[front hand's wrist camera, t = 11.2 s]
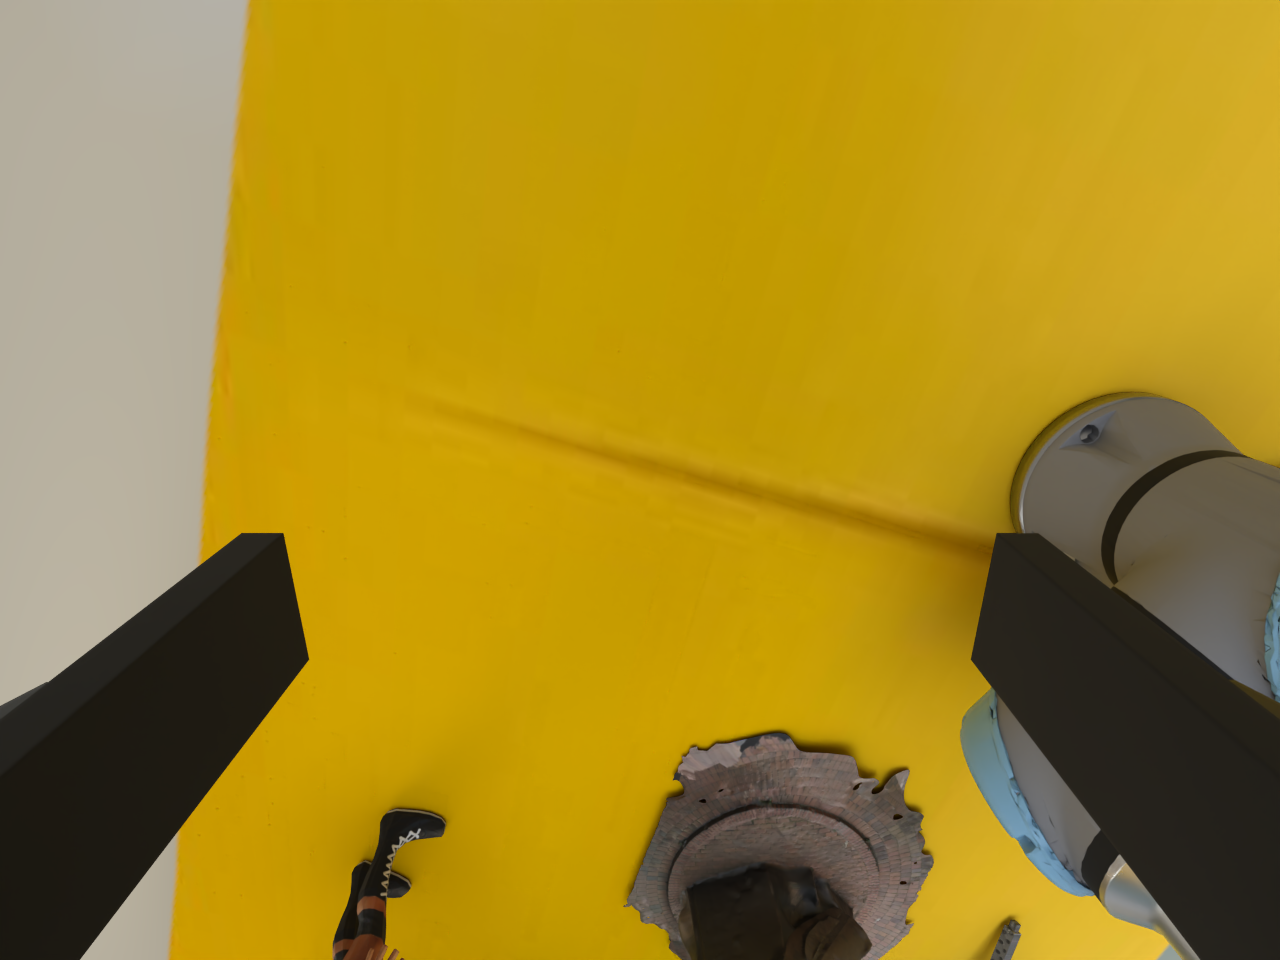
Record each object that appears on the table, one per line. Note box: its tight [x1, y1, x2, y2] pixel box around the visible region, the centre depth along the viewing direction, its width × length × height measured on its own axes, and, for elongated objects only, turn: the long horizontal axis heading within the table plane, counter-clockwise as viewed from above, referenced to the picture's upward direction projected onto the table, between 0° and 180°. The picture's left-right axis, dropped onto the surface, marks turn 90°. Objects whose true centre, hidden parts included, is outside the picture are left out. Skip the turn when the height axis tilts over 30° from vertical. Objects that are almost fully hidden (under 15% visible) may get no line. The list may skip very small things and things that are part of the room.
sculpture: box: [623, 733, 934, 960], centre depth 61 cm, size 33×35×16 cm
